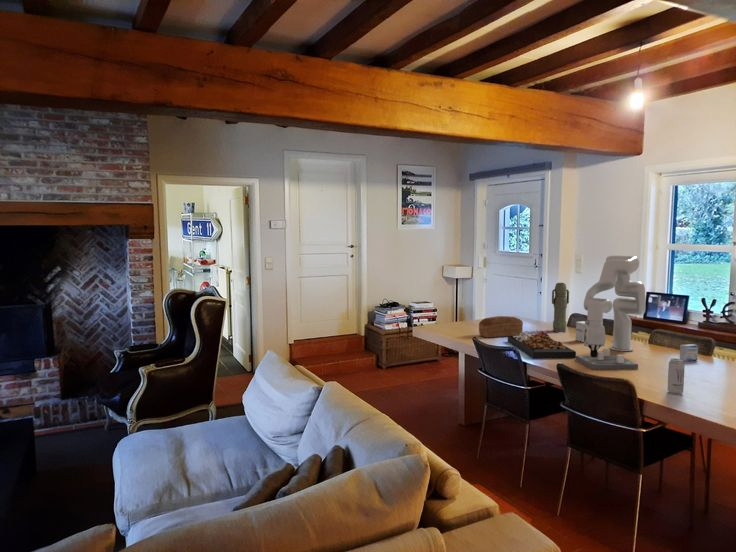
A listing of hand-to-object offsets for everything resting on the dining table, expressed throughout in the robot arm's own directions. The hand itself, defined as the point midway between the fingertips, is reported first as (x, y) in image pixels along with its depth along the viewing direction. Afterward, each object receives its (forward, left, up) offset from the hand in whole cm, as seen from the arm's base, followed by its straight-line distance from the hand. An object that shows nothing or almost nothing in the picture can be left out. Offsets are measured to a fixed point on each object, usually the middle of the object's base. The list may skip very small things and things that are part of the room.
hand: (593, 356), depth 272 cm
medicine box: (-6, +57, -4) cm, 57 cm away
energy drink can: (+49, +13, -4) cm, 51 cm away
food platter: (-37, -15, -5) cm, 40 cm away
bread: (-78, -27, -5) cm, 83 cm away
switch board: (0, +7, -4) cm, 8 cm away
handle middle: (0, +4, -1) cm, 4 cm away
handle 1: (-7, +11, -1) cm, 13 cm away
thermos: (-90, +20, -4) cm, 92 cm away
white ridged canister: (-57, +22, -4) cm, 61 cm away
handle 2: (+7, +11, -1) cm, 13 cm away
